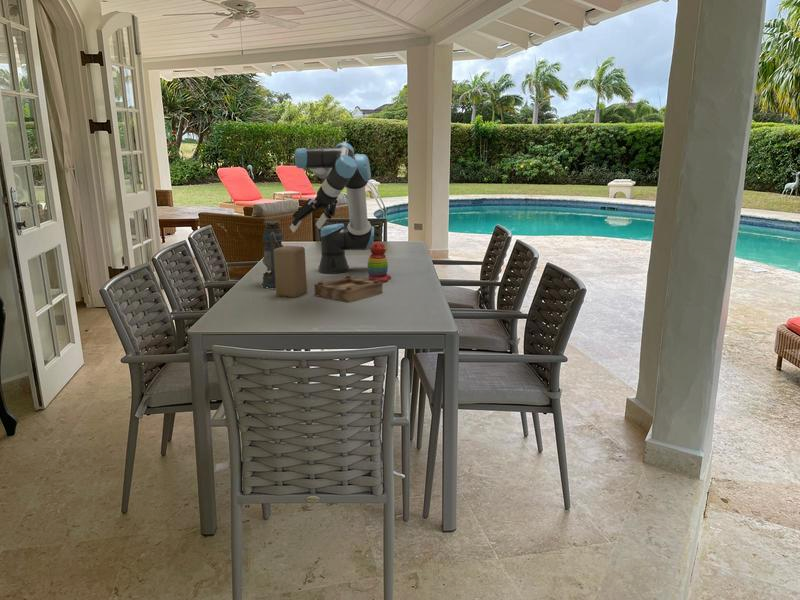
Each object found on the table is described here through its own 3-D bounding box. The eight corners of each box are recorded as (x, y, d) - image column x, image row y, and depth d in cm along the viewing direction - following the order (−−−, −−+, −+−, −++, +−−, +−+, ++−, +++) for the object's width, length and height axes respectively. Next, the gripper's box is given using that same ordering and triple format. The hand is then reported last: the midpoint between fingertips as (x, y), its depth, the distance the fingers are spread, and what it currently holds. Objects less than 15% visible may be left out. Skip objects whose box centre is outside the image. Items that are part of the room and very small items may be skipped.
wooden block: (307, 292, 257) (305, 246, 252) (296, 298, 248) (293, 249, 243) (287, 291, 260) (284, 245, 256) (275, 296, 251) (272, 249, 246)
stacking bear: (386, 282, 275) (386, 244, 270) (365, 282, 277) (364, 243, 272) (391, 278, 285) (391, 240, 281) (371, 277, 287) (370, 240, 283)
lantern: (262, 281, 280) (257, 217, 273) (293, 280, 283) (289, 216, 275) (261, 291, 261) (256, 221, 254) (294, 289, 264) (290, 220, 257)
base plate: (315, 295, 252) (314, 282, 251) (348, 286, 267) (348, 274, 266) (349, 302, 240) (348, 288, 239) (382, 292, 255) (382, 280, 253)
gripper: (310, 200, 217) (285, 238, 230) (358, 196, 236) (332, 232, 249) (299, 185, 219) (275, 224, 232) (347, 182, 238) (323, 218, 251)
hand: (305, 228), depth 240 cm, fingers open, 13 cm apart
